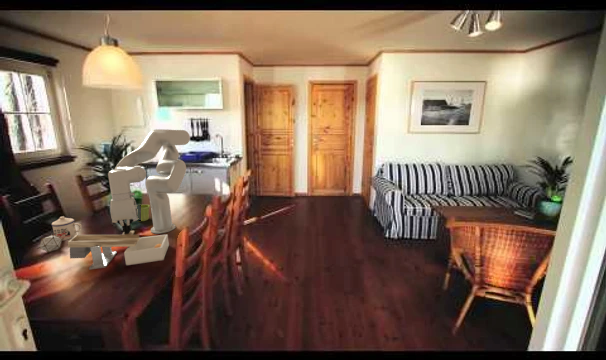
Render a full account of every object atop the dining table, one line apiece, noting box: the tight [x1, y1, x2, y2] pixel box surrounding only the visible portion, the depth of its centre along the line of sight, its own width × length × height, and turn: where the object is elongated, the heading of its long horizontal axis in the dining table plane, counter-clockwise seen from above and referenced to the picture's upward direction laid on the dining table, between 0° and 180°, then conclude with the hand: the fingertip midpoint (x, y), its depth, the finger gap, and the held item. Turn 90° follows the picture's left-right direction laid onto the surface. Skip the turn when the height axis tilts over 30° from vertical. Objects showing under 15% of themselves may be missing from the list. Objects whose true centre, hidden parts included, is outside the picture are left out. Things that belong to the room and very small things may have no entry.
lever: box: [67, 230, 140, 259], centre depth 120 cm, size 16×24×8 cm, turn 108°
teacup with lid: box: [51, 216, 83, 242], centre depth 140 cm, size 12×9×12 cm
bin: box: [123, 233, 170, 266], centre depth 122 cm, size 15×15×6 cm
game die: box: [36, 233, 64, 255], centre depth 125 cm, size 9×8×10 cm
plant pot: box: [140, 204, 151, 222], centre depth 164 cm, size 9×9×9 cm
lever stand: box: [88, 245, 117, 271], centre depth 117 cm, size 13×6×10 cm, turn 18°
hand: (127, 232), depth 127 cm, fingers closed
